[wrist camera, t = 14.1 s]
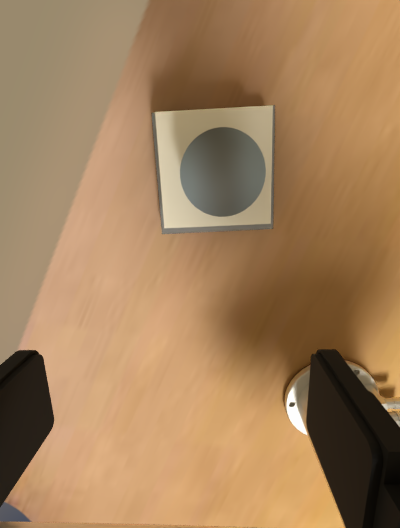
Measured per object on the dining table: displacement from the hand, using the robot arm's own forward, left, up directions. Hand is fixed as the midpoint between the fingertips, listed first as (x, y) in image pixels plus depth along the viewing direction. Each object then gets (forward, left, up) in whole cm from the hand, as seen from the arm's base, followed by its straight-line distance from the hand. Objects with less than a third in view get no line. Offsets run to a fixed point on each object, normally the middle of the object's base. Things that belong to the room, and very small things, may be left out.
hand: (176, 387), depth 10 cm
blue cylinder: (-2, -7, -19) cm, 20 cm away
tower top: (-2, -8, -23) cm, 24 cm away
